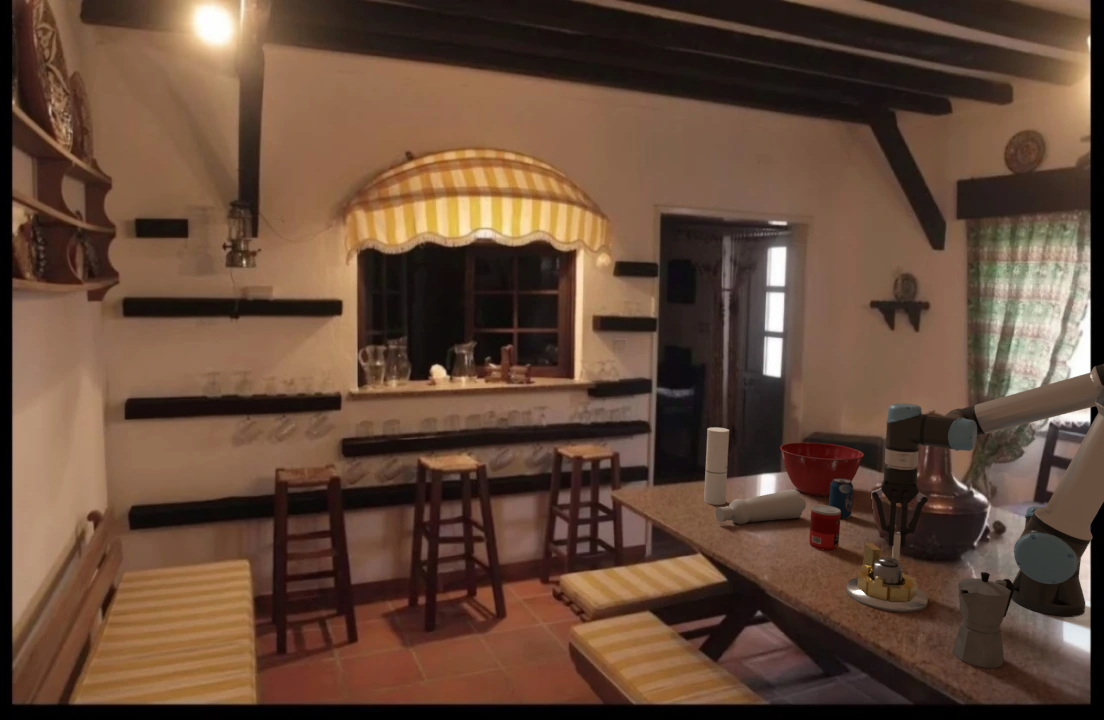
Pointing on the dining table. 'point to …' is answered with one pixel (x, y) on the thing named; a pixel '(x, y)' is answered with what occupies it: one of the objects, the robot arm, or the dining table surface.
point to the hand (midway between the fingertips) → (895, 558)
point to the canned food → (825, 527)
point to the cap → (893, 576)
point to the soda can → (841, 496)
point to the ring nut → (883, 579)
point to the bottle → (763, 508)
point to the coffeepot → (982, 620)
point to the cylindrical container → (716, 466)
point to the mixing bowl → (819, 465)
